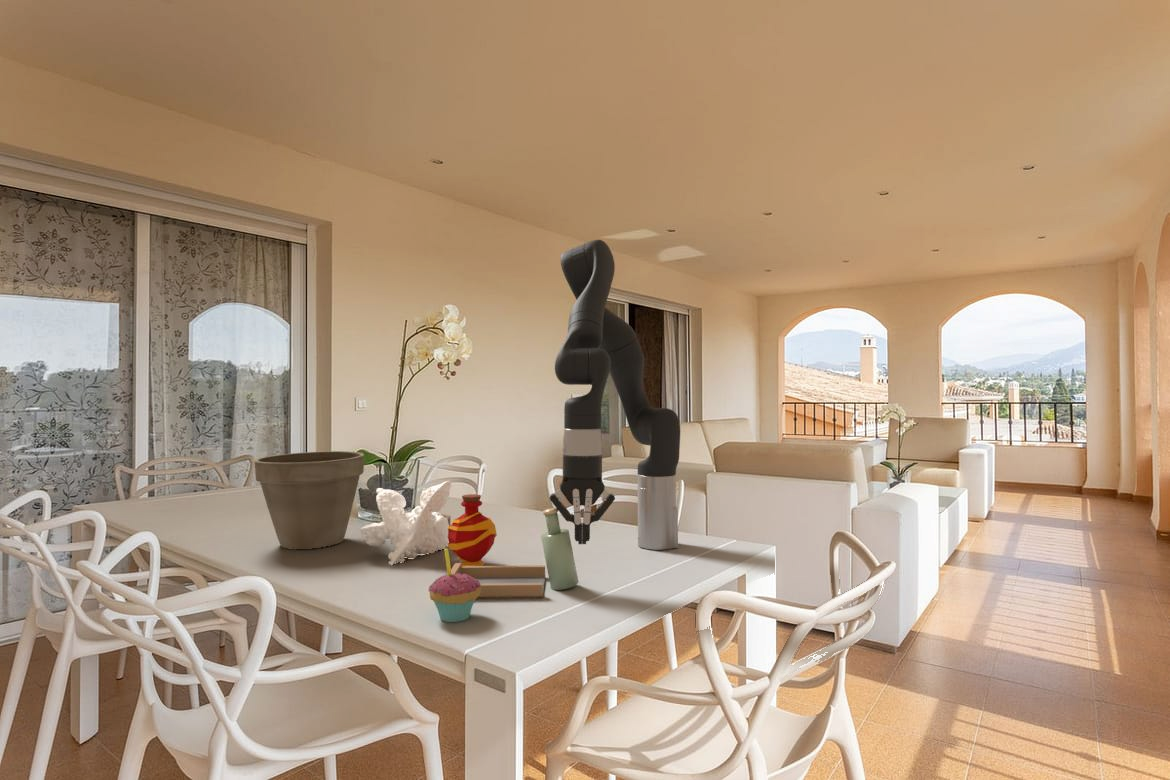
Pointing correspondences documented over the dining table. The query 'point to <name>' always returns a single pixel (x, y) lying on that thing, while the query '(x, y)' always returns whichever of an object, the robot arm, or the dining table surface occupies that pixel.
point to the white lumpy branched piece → (410, 523)
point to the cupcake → (454, 594)
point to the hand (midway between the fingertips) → (581, 543)
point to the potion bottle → (471, 533)
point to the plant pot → (310, 495)
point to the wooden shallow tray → (506, 580)
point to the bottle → (558, 553)
